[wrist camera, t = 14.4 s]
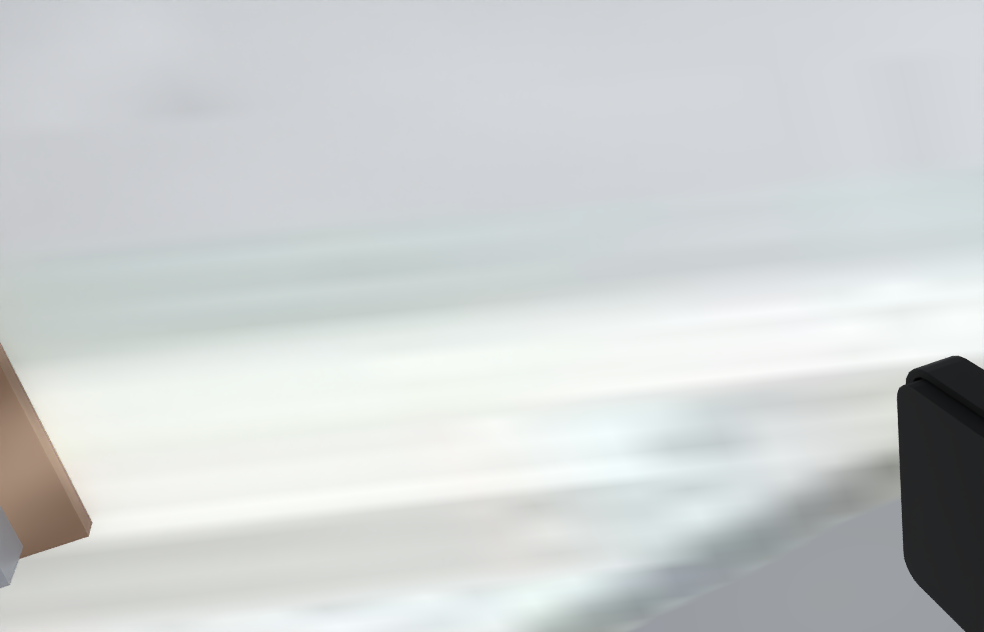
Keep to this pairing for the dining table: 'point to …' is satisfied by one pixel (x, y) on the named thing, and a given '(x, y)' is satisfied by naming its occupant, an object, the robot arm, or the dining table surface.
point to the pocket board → (31, 482)
